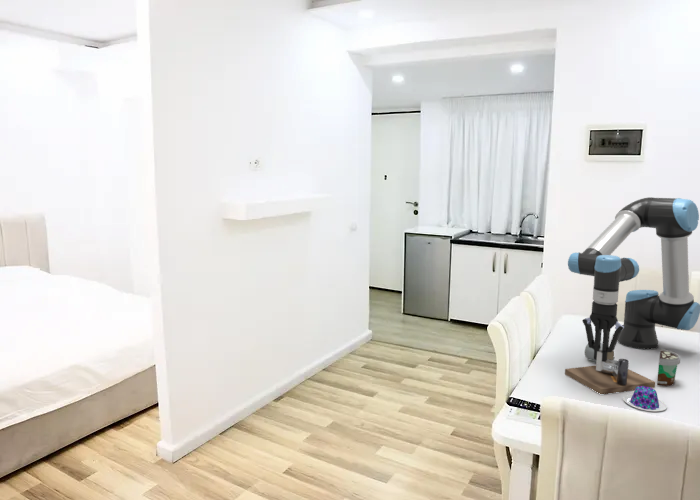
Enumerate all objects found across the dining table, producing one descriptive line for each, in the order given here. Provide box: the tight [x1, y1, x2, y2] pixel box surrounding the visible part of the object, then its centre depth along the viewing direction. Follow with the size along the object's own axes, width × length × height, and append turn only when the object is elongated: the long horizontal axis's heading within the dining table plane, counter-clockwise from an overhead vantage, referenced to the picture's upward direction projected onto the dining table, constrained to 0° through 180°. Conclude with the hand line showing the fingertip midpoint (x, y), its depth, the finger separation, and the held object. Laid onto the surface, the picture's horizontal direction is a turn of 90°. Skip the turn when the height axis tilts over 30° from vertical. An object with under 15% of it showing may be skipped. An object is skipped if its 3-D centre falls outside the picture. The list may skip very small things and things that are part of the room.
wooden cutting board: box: [564, 364, 656, 395], centre depth 181 cm, size 22×18×2 cm
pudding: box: [622, 386, 668, 412], centre depth 163 cm, size 12×12×5 cm
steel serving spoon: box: [601, 358, 630, 385], centre depth 180 cm, size 18×10×8 cm, turn 167°
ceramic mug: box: [584, 339, 615, 362], centre depth 199 cm, size 11×8×8 cm
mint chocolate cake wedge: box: [656, 348, 681, 387], centre depth 179 cm, size 12×6×10 cm, turn 148°
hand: (599, 369), depth 174 cm, fingers closed
